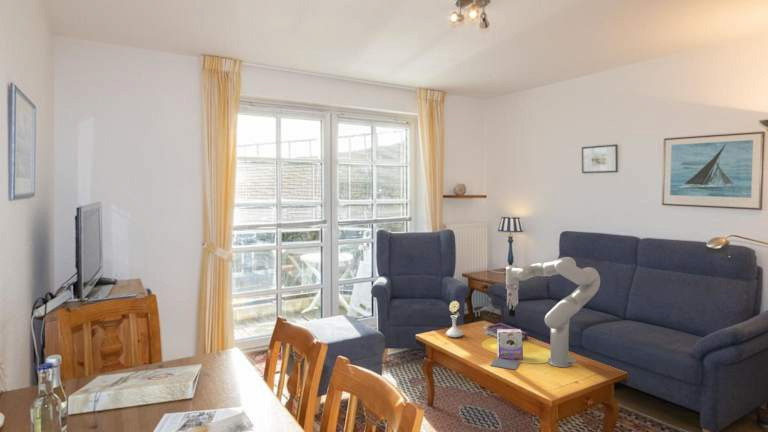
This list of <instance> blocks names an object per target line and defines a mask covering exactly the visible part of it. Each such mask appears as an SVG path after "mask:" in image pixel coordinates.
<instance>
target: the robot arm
mask: <svg viewBox="0 0 768 432" xmlns="http://www.w3.org/2000/svg"><path fill="white" fill-rule="evenodd" d="M556 275H561V276H562V277H564V278H565V279H566V280H569V281H571V282H573V283H575V284H576V285H577V286H578V287H577V288H576V289H574V290H573V292H571V294H569V295H568V296H565V297H564V298H562V299H561V300H560V301H558V303H556V304H555V305H554V306H553V307H552V308H551V309H550V310H549V311H548V312H547V313H546V314H545V316H544V324H545V325H546V326H547V327H548V328H549V329H550V331H549V333H550V334H549V335H550V337H549V338H550V341H549V342H550V345H549V346H550V350H549V351H550V352H549V353H550V357H548V359H547V363H548V364H549V365H550V366H553V367H557V368H569V367H571V366H572V364H578V359H576V358H574V357H573V358H572V357H570V354H569V338H570V337H569V336H570V335H569V331H570V322H571V321H570V320H571V318H572V317H573V316H574V315H575V314H577V313H578V312H579V311H580V310H581V309H582V308H583V306H585V305H586V304H587V303H588V302H589V301H590V300H591V299H592V298H593V297H594V296H596V293H597V292H598V291H599V288H600V286H601V277H600V276H601V275H600V274H599V272H598V270H596V268H594V267H590V266H588V267H583V268H580V267H578V266H577V263H576V260H575V259H574V258H573V257H570V256H564V257H560V258H555V259H551V260H544V261H542V262H538V263H537V262H536V263H533V264H529V265H528V264H527V265H525V266H521V267H519V266H517V265H513V264H512V265H507V266H506V268H505V289H506V290H507V291H506V306H508V317H513V318H515V317H516V306H517V305H518V304H519V290H520V288H519V287H520V286H519V285H520V284H519V281H526V280H529V279H531V278H534V277H541V276H547V277H551V276H556Z"/></svg>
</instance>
